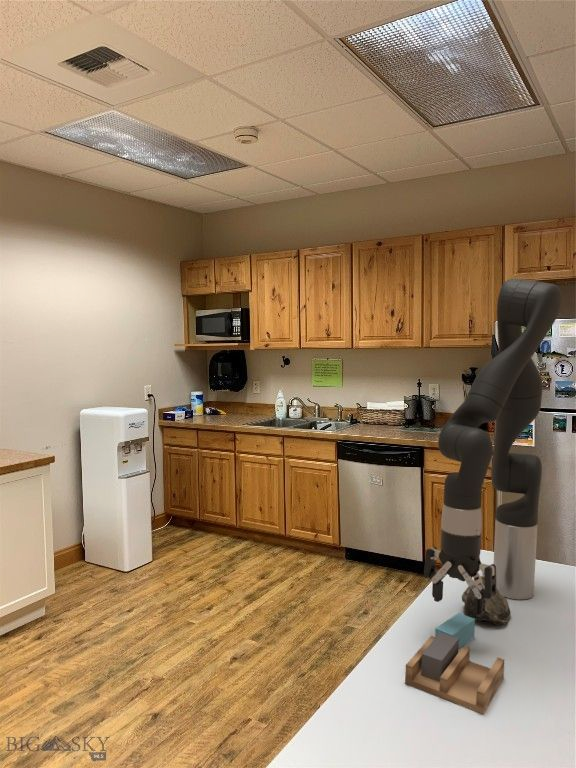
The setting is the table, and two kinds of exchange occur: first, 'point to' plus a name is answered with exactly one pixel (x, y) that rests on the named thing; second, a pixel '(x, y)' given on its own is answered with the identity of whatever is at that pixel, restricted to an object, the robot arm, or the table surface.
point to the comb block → (458, 679)
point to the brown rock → (487, 607)
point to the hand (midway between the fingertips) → (457, 607)
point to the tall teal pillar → (458, 628)
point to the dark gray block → (439, 656)
